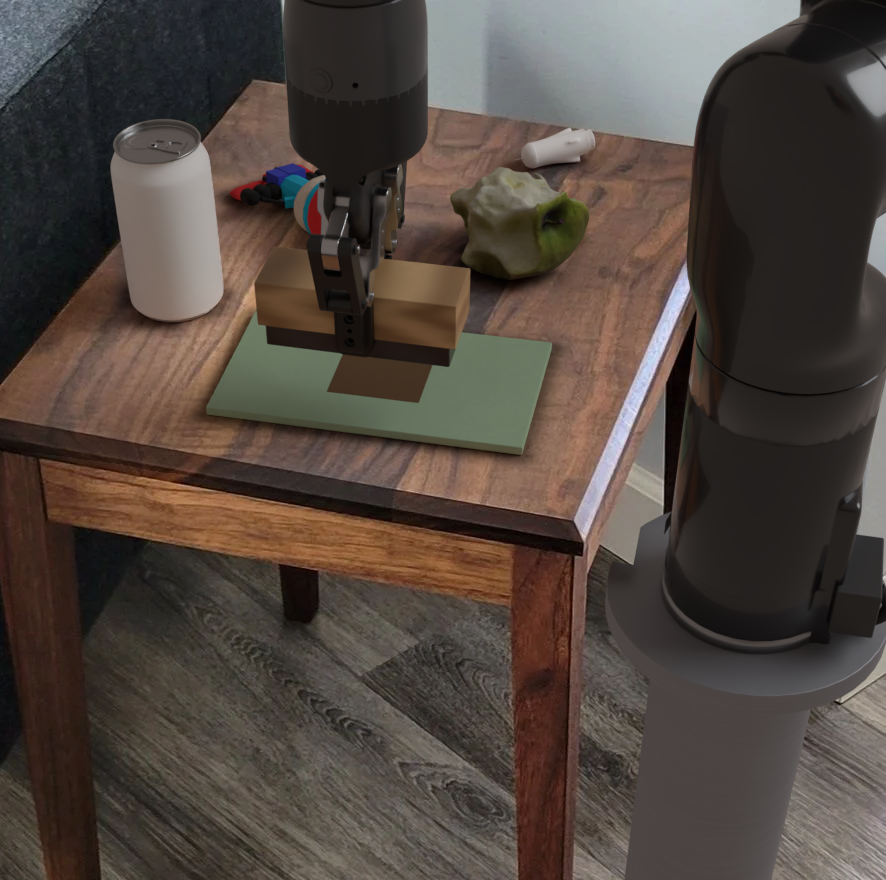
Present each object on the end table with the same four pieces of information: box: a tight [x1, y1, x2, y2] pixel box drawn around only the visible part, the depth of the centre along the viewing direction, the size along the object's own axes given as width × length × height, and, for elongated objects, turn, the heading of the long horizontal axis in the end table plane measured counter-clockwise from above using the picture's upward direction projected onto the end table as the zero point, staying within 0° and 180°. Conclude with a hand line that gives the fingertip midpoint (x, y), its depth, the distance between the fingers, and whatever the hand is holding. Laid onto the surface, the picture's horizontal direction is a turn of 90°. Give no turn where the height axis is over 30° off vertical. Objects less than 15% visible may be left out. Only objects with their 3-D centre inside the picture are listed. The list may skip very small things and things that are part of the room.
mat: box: [205, 308, 553, 456], centre depth 104 cm, size 20×11×1 cm, turn 75°
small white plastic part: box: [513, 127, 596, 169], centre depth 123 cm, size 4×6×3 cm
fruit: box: [449, 166, 590, 281], centre depth 112 cm, size 9×9×8 cm
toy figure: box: [228, 162, 326, 235], centre depth 117 cm, size 8×5×15 cm
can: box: [110, 118, 225, 323], centre depth 108 cm, size 6×6×12 cm
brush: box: [253, 245, 471, 367], centre depth 97 cm, size 12×4×4 cm, turn 75°
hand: (365, 328), depth 98 cm, fingers closed on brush, 4 cm apart
